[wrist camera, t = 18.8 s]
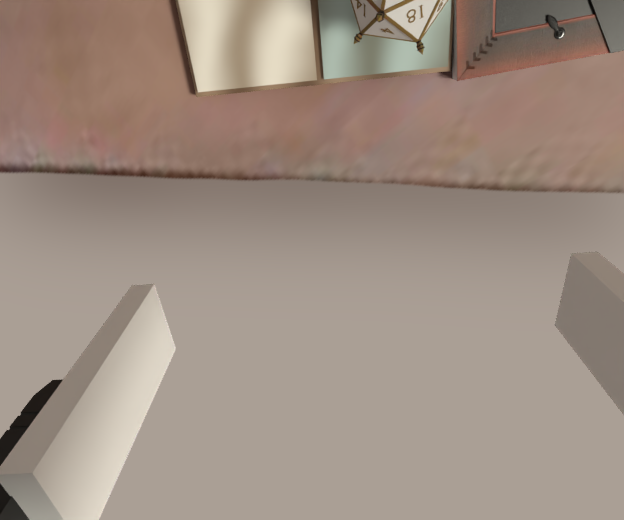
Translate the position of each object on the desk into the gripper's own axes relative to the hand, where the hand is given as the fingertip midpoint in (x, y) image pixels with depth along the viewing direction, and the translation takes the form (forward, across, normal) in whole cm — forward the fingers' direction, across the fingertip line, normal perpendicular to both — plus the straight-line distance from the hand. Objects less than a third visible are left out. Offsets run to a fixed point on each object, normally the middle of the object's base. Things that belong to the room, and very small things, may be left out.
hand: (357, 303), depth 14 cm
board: (+29, -1, +10) cm, 30 cm away
